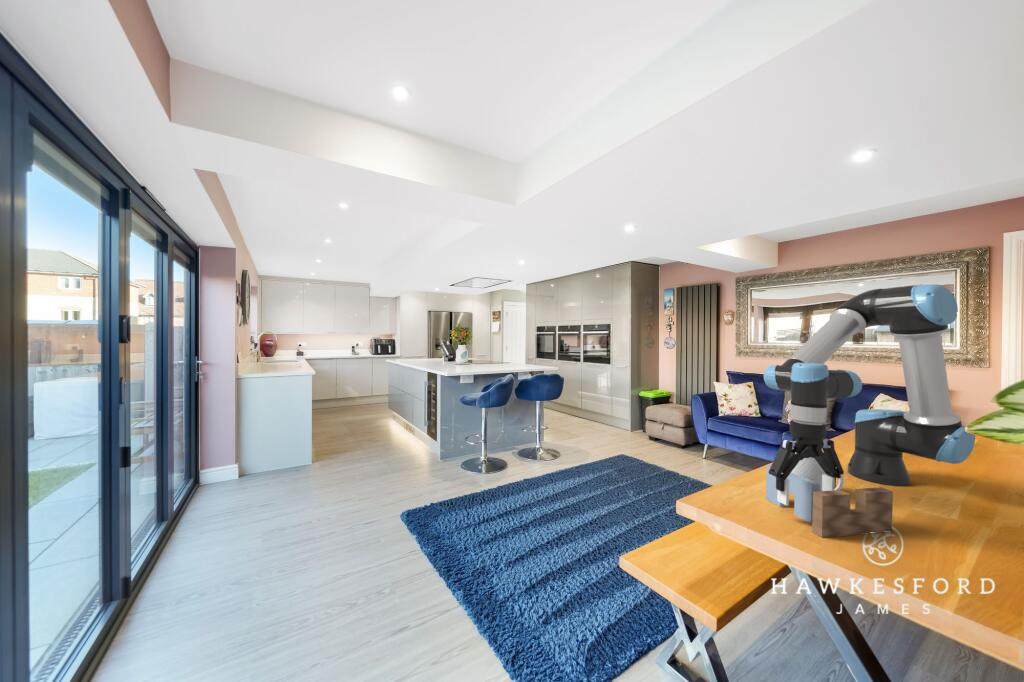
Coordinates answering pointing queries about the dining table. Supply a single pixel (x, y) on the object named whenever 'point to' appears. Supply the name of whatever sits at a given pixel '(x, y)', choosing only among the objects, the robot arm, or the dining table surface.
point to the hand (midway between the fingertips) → (805, 501)
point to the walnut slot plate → (852, 512)
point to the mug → (813, 471)
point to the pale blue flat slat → (799, 489)
